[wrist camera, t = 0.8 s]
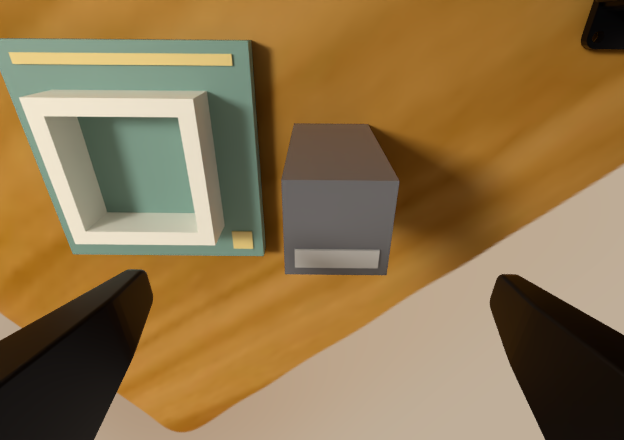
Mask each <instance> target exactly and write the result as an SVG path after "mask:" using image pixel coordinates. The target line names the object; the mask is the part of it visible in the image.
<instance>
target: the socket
mask: <svg viewBox="0 0 624 440" xmlns="http://www.w3.org/2000/svg"><path fill="white" fill-rule="evenodd" d="M19 99H20V102H21V105H22V107H23V110H24V112H25V115H26V118H27V120H28V123H29V125H30V128H31V131H32V133H33V136H34V138H35V141H36V143H37V146H38V149H39V151H40V154H41V156H42V159H43V162H44V164H45V167H46V169H47V172H48V175H49V177H50V180H51V182H52V185H53V187H54V190H55V193H56V195H57V198H58V200H59V203H60V206H61V208H62V211H63V213H64V216H65V219H66V221H67V224H68V226H69V229H70V231H71V234H72V237H73V239H74V242H75V244H115V245H216V243H217V241H218V239H219V236H220V234H221V232H222V230H223V228H224V226H225V224H224V217H223V209H222V202H221V194H220V187H219V179H218V172H217V164H216V157H215V149H214V142H213V134H212V127H211V119H210V112H209V104H208V97H207V91H157V90H49V91H44V92H40V93H36V94H31V95H27V96H23V97H19ZM77 117H178V121H179V127H180V132H181V138H182V144H183V149H184V155H185V160H186V166H187V172H188V177H189V183H190V189H191V194H192V200H193V205H194V211H195V213H124V212H107V210H106V207H105V203H104V200H103V197H102V194H101V191H100V188H99V185H98V181H97V178H96V175H95V172H94V169H93V166H92V162H91V159H90V156H89V153H88V150H87V147H86V143H85V140H84V137H83V134H82V131H81V128H80V124H79V121H78V118H77Z"/></svg>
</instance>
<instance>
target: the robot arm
mask: <svg viewBox="0 0 624 440" xmlns="http://www.w3.org/2000/svg"><path fill="white" fill-rule="evenodd" d="M596 32H597V33H598V37H597V39H596V40H595V41H594V42H593V41H592V38H593V35H594V34H595V33H596ZM581 44H582V46H583V47H584V48H587V49H624V0H594V2H593V5H592V8H591V11H590V13H589V16H588V19H587V22H586V25H585V28H584V31H583V34H582V37H581ZM152 302H153V293H152V290H151V286H150V283H149V279H148V276H147V273H146V272H145V271H144V270H133V269H130V270H126V271H124V272H122V273H120V274H119V275H117V276H115V277H113V278H111V279H110V280H108V281H106V282H104V283H103V284H101V285H99V286H97V287H95V288H94V289H92V290H90V291H88V292H86V293H85V294H83V295H81V296H79V297H77V298H76V299H74V300H72V301H70V302H68V303H67V304H65V305H63V306H61V307H60V308H58V309H56V310H54V311H52V312H51V313H49V314H47V315H45V316H43V317H42V318H40V319H38V320H36V321H34V322H33V323H31V324H29V325H27V326H25V327H24V328H22V329H20V330H18V331H16V332H15V333H13V334H11V335H9V336H8V337H6V338H4V339H2V340H0V440H94V438H95V436H96V434H97V432H98V430H99V428H100V426H101V424H102V422H103V420H104V418H105V415H106V413H107V411H108V409H109V407H110V404H111V403H112V401H113V399H114V397H115V394H116V392H117V390H118V388H119V386H120V384H121V382H122V380H123V378H124V376H125V374H126V371H127V369H128V367H129V365H130V363H131V361H132V358H133V356H134V353H135V351H136V348H137V345H138V343H139V340H140V337H141V334H142V331H143V328H144V325H145V323H146V320H147V317H148V314H149V311H150V308H151V306H152ZM490 308H491V311H492V314H493V317H494V320H495V323H496V326H497V329H498V331H499V334H500V337H501V340H502V343H503V346H504V349H505V352H506V355H507V357H508V360H509V363H510V365H511V367H512V370H513V372H514V374H515V376H516V378H517V380H518V383H519V385H520V387H521V389H522V391H523V393H524V395H525V397H526V400H527V402H528V404H529V406H530V408H531V410H532V412H533V414H534V417H535V418H536V421H537V423H538V425H539V427H540V429H541V432H542V434H543V436H544V438H545V440H624V335H622V334H621V333H619V332H617V331H615V330H614V329H612V328H610V327H609V326H607V325H605V324H603V323H602V322H600V321H598V320H596V319H594V318H593V317H591V316H589V315H587V314H586V313H584V312H582V311H580V310H578V309H577V308H575V307H573V306H572V305H570V304H568V303H566V302H564V301H563V300H561V299H559V298H557V297H556V296H554V295H552V294H550V293H549V292H547V291H545V290H543V289H542V288H540V287H538V286H536V285H535V284H533V283H531V282H529V281H528V280H526V279H524V278H522V277H520V276H519V275H513V274H502V275H500V276H498V278H497V280H496V283H495V286H494V289H493V292H492V295H491V298H490Z"/></svg>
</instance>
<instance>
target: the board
mask: <svg viewBox="0 0 624 440" xmlns="http://www.w3.org/2000/svg"><path fill="white" fill-rule="evenodd" d="M0 71H1V74H2V76H3V79H4V81H5V84H6V86H7V89H8V91H9V94H10V96H11V99H12V101H13V104H14V106H15V109H16V112H17V114H18V117H19V119H20V122H21V124H22V127H23V129H24V132H25V134H26V137H27V139H28V142H29V144H30V147H31V149H32V152H33V154H34V157H35V159H36V162H37V164H38V167H39V169H40V172H41V175H42V177H43V180H44V182H45V185H46V187H47V190H48V192H49V195H50V197H51V200H52V202H53V205H54V207H55V210H56V212H57V215H58V217H59V220H60V222H61V225H62V227H63V230H64V233H65V235H66V238H67V240H68V243H69V245H70V248H71V250H72V253H73V254H109V255H213V256H264V253H265V248H266V244H265V230H264V215H263V201H262V187H261V172H260V158H259V144H258V129H257V115H256V101H255V86H254V72H253V58H252V43H251V40H165V39H31V38H0ZM49 90H157V91H207V97H208V104H209V112H210V119H211V127H212V134H213V142H214V149H215V157H216V164H217V172H218V179H219V187H220V194H221V202H222V209H223V217H224V224H225V226H224V228H223V230H222V232H221V234H220V236H219V239H218V241H217V243H216V245H115V244H75V242H74V239H73V237H72V234H71V231H70V229H69V226H68V224H67V221H66V219H65V216H64V213H63V211H62V208H61V206H60V203H59V200H58V198H57V195H56V193H55V190H54V187H53V185H52V182H51V180H50V177H49V175H48V172H47V169H46V167H45V164H44V162H43V159H42V156H41V154H40V151H39V149H38V146H37V143H36V141H35V138H34V136H33V133H32V131H31V128H30V125H29V123H28V120H27V118H26V115H25V112H24V110H23V107H22V105H21V102H20V99H19V97H23V96H27V95H31V94H36V93H40V92H44V91H49ZM77 118H78V121H79V124H80V128H81V131H82V134H83V137H84V140H85V143H86V147H87V150H88V153H89V156H90V159H91V162H92V166H93V169H94V172H95V175H96V178H97V181H98V185H99V188H100V191H101V194H102V197H103V200H104V203H105V207H106V210H107V212H124V213H195V211H194V205H193V200H192V194H191V189H190V183H189V177H188V172H187V166H186V160H185V155H184V149H183V144H182V138H181V132H180V127H179V121H178V117H77Z"/></svg>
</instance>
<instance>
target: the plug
mask: <svg viewBox="0 0 624 440" xmlns="http://www.w3.org/2000/svg"><path fill="white" fill-rule="evenodd" d="M398 188H399V179H398V177H397V176H396V174H395V172H394V170H393V168H392V167H391V165H390V163H389V161H388V159H387V158H386V156H385V154H384V152H383V150H382V149H381V147H380V145H379V143H378V141H377V140H376V138H375V136H374V134H373V132H372V131H371V129H370V127H369V125H368V124H294V126H293V131H292V135H291V140H290V144H289V149H288V153H287V157H286V162H285V166H284V171H283V175H282V206H283V232H284V257H285V274H323V275H386V274H387V267H388V260H389V253H390V246H391V238H392V231H393V224H394V217H395V209H396V202H397V195H398Z"/></svg>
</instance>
